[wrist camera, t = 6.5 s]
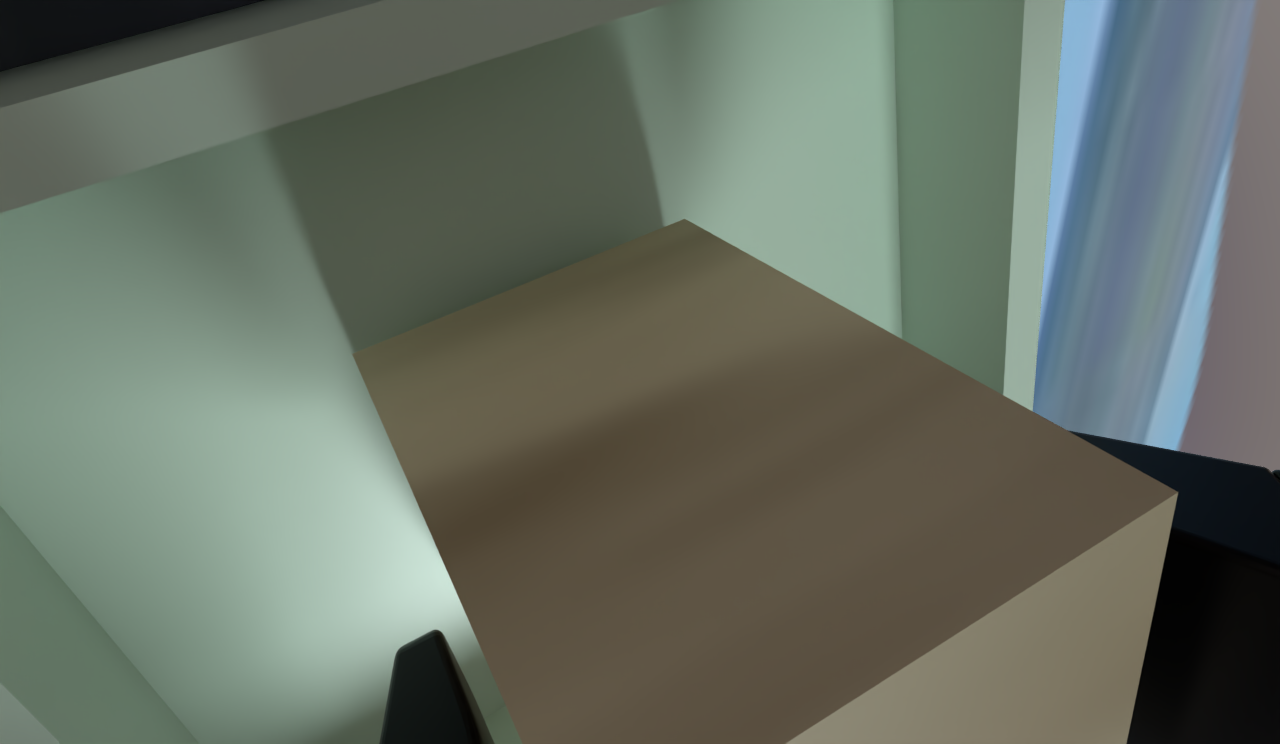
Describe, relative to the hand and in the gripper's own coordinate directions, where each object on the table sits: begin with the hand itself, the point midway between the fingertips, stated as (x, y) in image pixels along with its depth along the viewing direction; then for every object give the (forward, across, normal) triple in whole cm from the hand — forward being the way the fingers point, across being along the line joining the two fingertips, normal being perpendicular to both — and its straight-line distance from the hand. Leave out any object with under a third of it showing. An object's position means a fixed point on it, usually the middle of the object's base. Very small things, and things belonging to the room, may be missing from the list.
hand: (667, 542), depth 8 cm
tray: (+4, 0, 0) cm, 4 cm away
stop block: (+2, 0, 0) cm, 2 cm away
